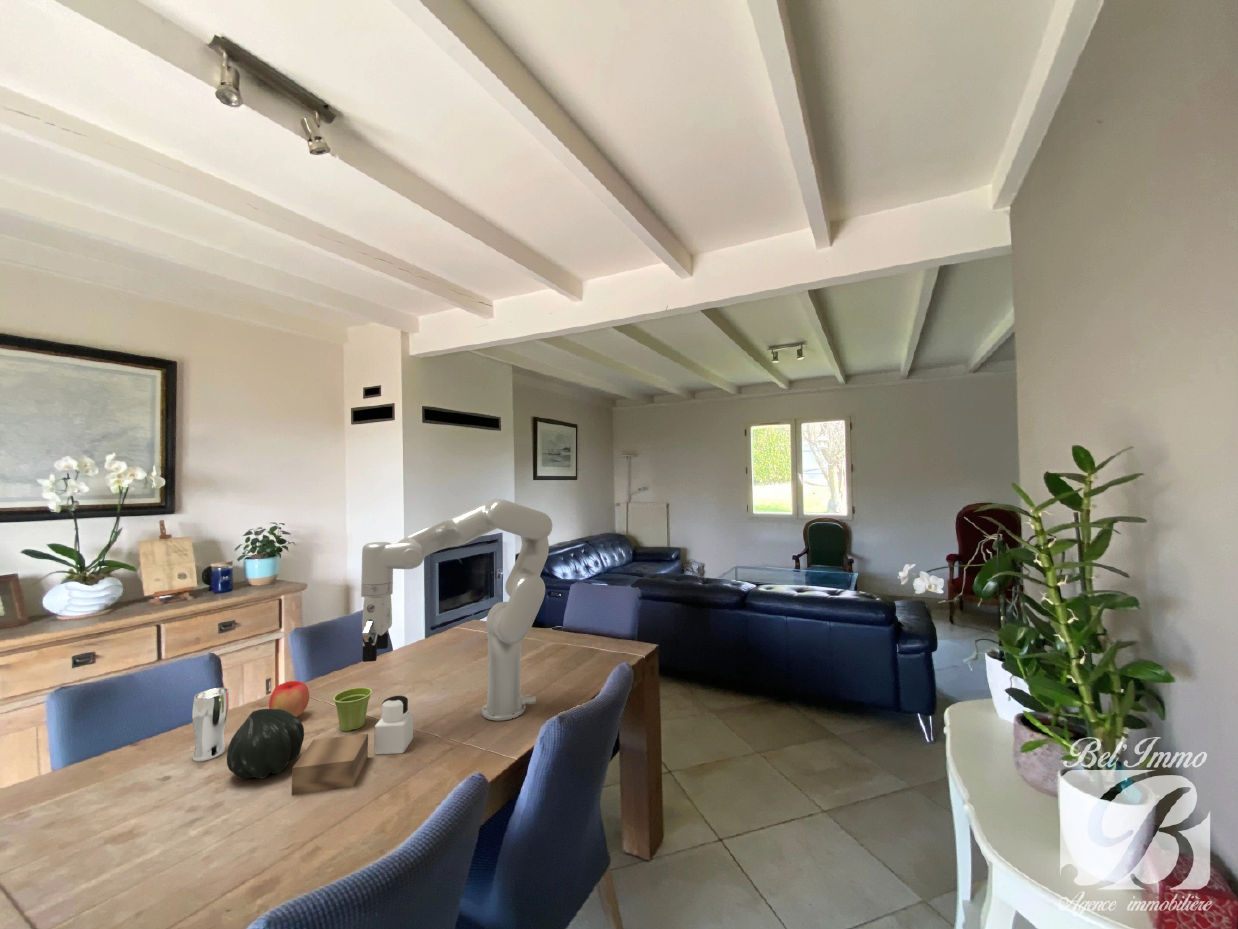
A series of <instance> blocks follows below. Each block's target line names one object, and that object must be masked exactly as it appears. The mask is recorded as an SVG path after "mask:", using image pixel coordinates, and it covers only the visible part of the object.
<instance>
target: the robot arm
mask: <svg viewBox="0 0 1238 929" xmlns="http://www.w3.org/2000/svg"><path fill="white" fill-rule="evenodd" d="M496 529H498V530H500V531H504V532H507V533H510V534H513V535H517V536H519V537H520V539H521V548H520V552H519V554H518V556H517V559H516V560H515V562H514V565H513V566H512V569H511V571H510V573H509V575H508V577H507V580H506V582H505V586H504V589H505V592H506V594H507V595H508V597H509V598H508V600H507V601H499V602H497V603H495V604H494V605H493V606H492V607H491V608H490V609H489V611H488V613H487V616H486V635H487V637H486V638H487V691H486V692H487V694H486V695H487V696H486V700H487V702H486V704H484V705H483V707H482V708H481V715H482V717H483V718H485V719H487V720H490V721H495V722H496V721H497V722H498V721H507V720H513V719H515V718H517V717H520V716H521V715H523V714H524V713H525V711H526V705H535V704H536V702H537V701H536V700H537V699H536V698H537V697H536V696H532V694H522V689H521V666H522V665H521V662H522V660H521V658H522V657H521V654H522V653H521V652H522V651H521V650H522V648H521V645H522V644H521V642H522V641H523V640H524V639H525V638H526V637H527V635H529V633H530V630H531V628H532V627H533V625H534V624H533V623H534V622H535V620H536V618H537V615H538V613H539V611H540V608H541V606H542V604H543V601H544V598H545V595H546V585H545V582H544V579H542V577H541V573H542V571H543V569H544V567H545V564H546V561H547V559H548V556H549V552H550V550H549V549H550V544H549V538H548V537H549V536H550V535H551V533H552V531H553V522H552V519H551V517H550V516H549V515H548V514H547V513H545V512H543V511H540V510H537V509H534V508H531V507H529V506H525V505H521V504H519V503H515V502H512V501H510V500H506V499H502V498H501V499H500V498H498V499H497V498H496V499H495V498H494V499H490V500H488V501H485V502H483V503H481V504H479V505H476V506H475V507H472V508H469V509H468V510H466V511H464V512H461V513H459V514H457V515H455V516H452V517H450V518H448V519H445V520H443V521H440V522H439V523H436V524H433V525H432V526H429V527H426V528H424V529H422V530H420V531H417V532H415V533H413V534H411V535H409V536H406V537H404V538H402V539H401V540H399V541H397V542H396V543H392V542H387V541H376V542H368V543H365V544H364V545H363V547H362V549H361V550H362V552H361V581H360V582H361V584H360V585H361V586H360V596H361V597H362V598H363V608H362V618H361V619H362V621H361V622H362V626H361V628H362V629H361V630H362V633H361V635H362V662H363V663H367V662H368V663H369V662H376V661H377V659H378V655H377V654H378V650H383V649H384V650H386V649H388V647H389V630H390V628H391V627H392V624H393V608H392V595H393V592H394V591H393V590H394V587H393V586H394V579H393V578H394V569H396V570H413V569H415V568H418V567H419V566H421V565H422V564H423V562H424V561H425V559H426V558H425V557H427V556H429V555H431V554H433V553H436V552H438V551H441V550H444V549H447V548H451V547H452V548H453V547H459V546H463V545H466V544H467V543H470V542H472V541H474V540H475V539H477V538H480V537H482V536H484V535H486V534H489V533H490V532H493V531H494V530H496ZM519 715H520V716H519ZM512 718H513V719H512Z"/></svg>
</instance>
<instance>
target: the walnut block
mask: <svg viewBox="0 0 1238 929" xmlns="http://www.w3.org/2000/svg"><path fill="white" fill-rule="evenodd" d="M368 750H369V733H362V734H352V735H344V736H333V737H328V738H326V737H325V738H316V739H313V740H312V741H311V742H310V744H309V745H308V746H307V748H306V749H305V750H304V752H303V753H301V754H302V755H301V756H300V757H299V758H298V760H297V761H296V762H295V764H294V765H293V767H292V768H291V769H292V772H291V793H290V794H291V796H296V795H297V796H298V795H305V794H311V793H317V792H318V793H319V792H326V791H333V790H340V789H347V788H348V789H349V788H354V786H355V784H356V782H357V781H358V777H359V776H360V774H361V772H362V770H363V768H364V766H365V764H366V761H367V760H368V758H369V755H368V754H369V752H368Z"/></svg>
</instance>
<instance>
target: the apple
mask: <svg viewBox="0 0 1238 929" xmlns="http://www.w3.org/2000/svg"><path fill="white" fill-rule="evenodd" d="M309 701H310V690H309V688H308V686H307V685H306V684H305V683H304V682H301V681H299V680H291V681H285V682H283V683H281V684H280V683H279V685H276V687H274V689H273V691H272V692H271V695H270V696H269V702H268V709H281V710H284V711H287V712H289V713H291V714H292V715H293V716H295V717H297V718H298V717H299V716H301V715H302V714H303V712H305V710H306V709H307V707H308V705H309Z"/></svg>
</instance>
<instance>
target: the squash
mask: <svg viewBox="0 0 1238 929" xmlns="http://www.w3.org/2000/svg"><path fill="white" fill-rule="evenodd" d="M236 730H237V731H236V732H235V733H234V735H233V736H232V737H231V739H230V742H229V744H228V747H227V752H226V766H227V768H228V770H229V771H230V772H231V773H233V775H235V776H236V777H237V778H238V779H241V780H242V779H251V778H255V779H260V780H261V779H264V778H266V777H267V776H268V775H269V774H270V773H272V774H279V773H281V772H283V770H285V768H286V767H287V765H288V763H291V762H293V761H294V760H295V759H297V757H298V756H299V755H300V752H301V749H302V746H303V744H304V743H303V742H304V741H305V740H304V739H305V727H304V724H302V722H301V719H299V718H298V717H295V716H293V715H292V714H291V713H289V712H287V711H284V710H281V709H269V708H261V709H257V710H253V711H252V712H251V713H250V714H249V715H248V716H247V718H246V719H245V721H244V722H243V724H242V725H241V726H240V727H239V728H238V729H236Z"/></svg>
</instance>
